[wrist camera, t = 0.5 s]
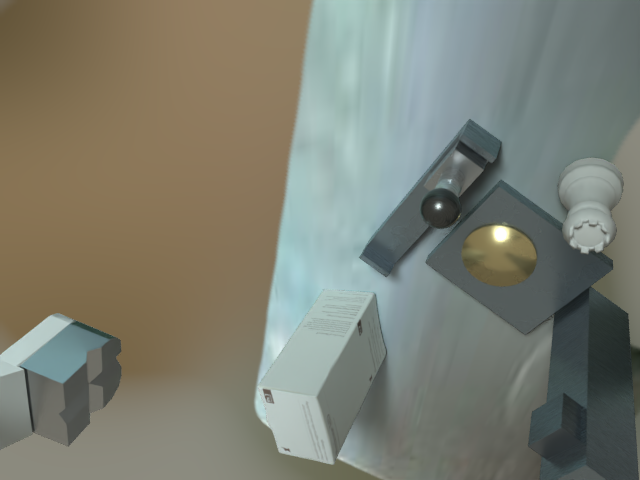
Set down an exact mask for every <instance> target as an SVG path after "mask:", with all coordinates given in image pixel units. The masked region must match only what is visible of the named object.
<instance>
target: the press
mask: <svg viewBox="0 0 640 480" xmlns="http://www.w3.org/2000/svg"><path fill="white" fill-rule="evenodd" d="M459 140H460V141H462V142H463V143H464V144H466V145H467V146H469V147H470V148H471V149H473V150H474V151H475V152H477V153H478V154H480V155H481V156H482V157H484V158H485V159H486V160H487V162H488V161H489V162H491V163H493V161H494V160H495V159H496V158H497V154H498V151H499V148H500V145H501V141H500V140H498V139H497V138H495V137H494V136H493V135H491V134H490V133H489V132H487V131H486V130H484V129H483V128H482V127H480V126H479V125H478V124H476V123H475V122H473V121H472V120H471V119H469V120H468V121H467V123H466V124H465V125H464V126H463V128H462V129H461V130H460V131H459V132H458V134H457V135H456V136H455V137H454V138H453V140H452V141H451V142H450V143H449V144H448V146H447V147H446V148H445V149H444V150H443V152H442V153H441V154H440V155H439V156H438V158H437V159H436V160H435V161H434V162H433V164H432V165H431V166H430V167H429V169H428V170H427V171H426V172H425V173H424V175H423V176H422V177H421V178H420V179H419V181H418V182H417V183H416V184H415V185H414V187H413V188H412V189H411V190H410V191H409V193H408V194H407V195H406V196H405V197H404V199H403V200H402V201H401V202H400V203H399V205H398V206H397V207H396V208H395V210H394V211H393V212H392V213H391V214H390V216H389V217H388V218H387V219H386V220H385V222H384V223H383V224H382V225H381V226H380V228H379V229H378V230H377V231H376V232H375V234H374V235H373V236H372V237H371V238H370V240H369V241H368V243H367V245H366V247H365V248H364V250H363V252H362V254H361V255H360V257H359V258H360V259H362V260H363V261H364V262H366V263H367V264H368V265H370V266H371V267H373V268H374V269H375V270H377V271H378V272H380V273H381V274H382V275H384V276H385V277H387V276H388V275H389V274H390V272H391V270H392V268H393V266H394V264H395V263H396V262H397V261H398V260H399V259H400V258H401V257H402V255H403V254H404V253H405V252H406V251H407V250H408V249H409V248H410V247H411V246H412V244H413V243H414V242H415V241H416V240H417V239H418V238H419V237H420V236H421V235H422V234H423V232H424V231H425V230H426V229H427V228H428V227H429V225H427V224H426V223H425V222H424V221H423V219H422V217H421V215H420V203H421V200H422V198H423V197H424V195H425V194H426V193H428V192H429V190H428V189H427V188H425V187H424V185H425V183H426V181H427V178H428V176H429V175H430V174H431V173H432V171H433V170H434V169H435V168H436V167H437V166H438V164H439V163H440V162H441V161H442V160H443V158H444V157H445V156H446V155H447V154H448V152H449V151H450V150H451V149H452V148H453V146H454V145H455V144H456V143H457V142H458V141H459ZM486 164H487V163H486ZM562 228H563V224H562V223H560V222H559V221H557V220H556V219H555V218H553V217H552V216H551V215H549V214H548V213H546V212H545V211H544V210H542V209H541V208H540V207H538V206H537V205H535V204H534V203H533V202H531V201H530V200H529V199H527V198H526V197H524V196H523V195H522V194H520V193H519V192H518V191H516V190H515V189H513V188H512V187H511V186H509V185H508V184H506V183H505V182H504V181H502V180H500V181H499V182H498V183H497V184H496V185H495V186H494V187H493V189H492V190H491V191H490V192H489V193H488V194H487V195H486V196H485V197H484V198H483V199H482V200H481V201H480V202H479V203H478V204H477V205H476V206H475V207H474V208H473V209H472V210H471V211H470V212H469V213H468V215H467V216H466V217H465V218H464V219H463V220H462V221H461V222H460V223H459V224H458V225H457V226H456V227H455V228H454V229H453V230H452V231H451V232H450V233H449V234H448V235H447V236H446V237H445V238H444V239H443V241H442V242H441V243H440V244H439V245H438V246H437V247H436V248H435V249H434V250H433V251H432V252H431V253H430V254H429V255H428V257H427V260H426V262H425V263H427V264H428V265H429V266H431V267H432V268H433V269H435V270H436V271H438V272H439V273H440V274H442V275H443V276H445V277H446V278H447V279H449V280H450V281H451V282H453V283H454V284H456V285H457V286H458V287H460V288H461V289H463V290H464V291H465V292H467V293H468V294H470V295H471V296H472V297H474V298H475V299H476V300H478V301H479V302H481V303H482V304H483V305H485V306H486V307H488V308H489V309H490V310H492V311H493V312H494V313H496V314H497V315H499V316H500V317H501V318H503V319H504V320H506V321H507V322H508V323H510V324H511V325H513V326H514V327H515V328H517V329H518V330H519V331H521V332H522V333H524V334H525V335H526V334H527V333H528V332H530V331H531V330H532V329H534V328H535V327H537V326H538V325H539V324H541V323H542V322H543V321H545V320H546V319H547V318H549V317H550V316H551V315H553V314H554V313H555V315H554V326H553V337H552V348H551V360H550V371H549V382H548V393H547V403H546V404H544V405H542V406H541V407H539V408H537V409H536V410H534V411H533V412H532V417H531V426H530V434H529V443H528V447H530V448H531V449H532V450H534V451H535V452H537V453H538V454H539V455H541V456H542V459H541V470H540V480H639V477H638V461H637V444H636V430H635V429H636V428H635V413H634V397H633V381H632V366H631V350H630V336H629V335H630V334H629V319H628V313H626V312H625V311H624V310H622V309H621V308H620V307H618V306H617V305H615V304H614V303H612V302H611V301H610V300H608V299H607V298H606V297H604V296H603V295H602V294H600V293H599V292H597V291H596V290H595V289H593V288H592V287H591V285H593V284H594V283H595V282H597V281H598V280H599V279H601V278H602V277H603V276H605V275H606V274H607V273H609V272H610V271H611V270H613V260H611V259H610V258H608V257H607V256H606V255H604V254H603V253H602V252H599V253H597V254H596V252H595V251H589V252H588V255H587V254H581V253H580V250H578V249H576V248H575V249H574V250H573V248H572V247H571V246H570V245H569V244H568V243H567V241H566V240H565V239H564V237H563V233H562Z"/></svg>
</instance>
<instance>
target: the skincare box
mask: <svg viewBox="0 0 640 480" xmlns="http://www.w3.org/2000/svg"><path fill="white" fill-rule="evenodd" d="M385 355H386V349H385V346H384V342H383V338H382V333H381V329H380V323H379V318H378V312H377V305H376V296H375V294H374V293H371V292H358V291H345V290H331V289H324V290H323V291H322V293H321V294H320V296H319V297H318V299H317V300H316V301H315V303H314V304H313V306H312V307H311V309H310V310H309V312H308V313H307V315H306V316H305V318H304V319H303V321H302V322H301V323H300V325H299V326H298V328H297V329H296V331H295V332H294V334H293V335H292V337H291V338H290V339H289V341H288V342H287V344H286V345H285V347H284V348H283V350H282V351H281V353H280V354H279V356H278V357H277V359H276V360H275V362H274V363H273V364H272V366H271V367H270V369H269V370H268V372H267V373H266V375H265V376H264V378H263V379H262V380H261V382H260V383H259V385H258V389H259V392H260V395H261V398H262V400H263V403H264V407H265V410H266V419H267V423H268V425H269V427H270V428H271V430H272V431H273V434H274V437H275V440H276V443H277V447H278V450H279V452H280V453H283V454H288V455H292V456H297V457H301V458H307V459H311V460H316V461H319V462H324V463H328V464H335V460H336V458H337V456H338V454H339V452H340V450H341V448H342V446H343V443H344V441H345V439H346V437H347V435H348V433H349V431H350V429H351V427H352V425H353V422H354V420H355V418H356V416H357V414H358V412H359V410H360V408H361V406H362V404H363V402H364V400H365V397H366V395H367V393H368V391H369V389H370V387H371V385H372V383H373V380H374V378H375V376H376V374H377V372H378V370H379V368H380V366H381V364H382V362H383V360H384V357H385Z"/></svg>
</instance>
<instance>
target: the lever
mask: <svg viewBox="0 0 640 480" xmlns="http://www.w3.org/2000/svg"><path fill="white" fill-rule="evenodd" d="M486 163H487V160H486V159H485V158H484V157H482V156H481V155H480V154H478V153H477V152H475V151H474V150H473V149H471V148H470V147H469V146H467V145H466V144H464V143H463V142H462V141H460V140H459V141H458V142H457V143H456V144H455V145H454V146H453V148H452V149H451V150H450V151H449V152H448V154H447V155H446V156H445V157H444V158H443V160H442V161H441V162H440V163H439V164H438V166H437V167H436V168H435V169H434V170H433V171H432V173H431V174H430V175H429V176H428V178H427V181H426V183H425V185H424V187H425V188H427V189H428V190H429V192H428V193H426V194H425V195H424V197H423V198H422V200H421V203H420V215H421V217H422V219H423V221H424V222H425V223H426V224H427V225H429V226H431V227H433V228H437V229H444V228H447V227H450V226H451V225H453V224H454V223H455V222H456V221H457V220H458V218H459V216H460V213H461V203H460V200H459V197H460V196H461V194H462V193H463V192H464V191H465V190H466V189H467V188H468V187H469V186H470V185H471V184H472V183H473V181H474V180H475V179H476V178H477V177H478V176H479V175H480V174H481V173H482V172H483V171H484V168H485V166H486Z"/></svg>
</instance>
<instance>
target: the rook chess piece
mask: <svg viewBox="0 0 640 480" xmlns="http://www.w3.org/2000/svg"><path fill="white" fill-rule="evenodd" d="M623 185H624V183H623V178H622V174H621V172H620V171H619V170H618V169H617V167H616V166H615V165H614V164H612V163H610V162H608V161H606V160H604V159H599V158H591V157H590V158H585V159H580V160H577V161H575V162H573V163H572V164H570V165H568V166H567V167H566V168H565V169H564V171H563V172H562V173H561V175H560V177H559V181H558V193H559V197H560V201H561V203H562V204H563V205H564V206H565V208H566V209H567V210H568V211H569V212H568V215H567V219H566V220H565V221H564V223H563V228H562V233H563V237H564V239H565V240H566V241H567V243H568V244H569V245H570V246H571V247H572V248H573V250H574V249H575V248H576V249H578V250H580V253H581V254H587V255H588V252H589V251H595V252H596V254H597V253H599V252H601V251H603V250H604V248H605V247H607V246H608V245H609V244H610V243H611V242H612V241H613V240H614V238H615V236H616V232H617V229H616V224H615V222H614V221H613V219H612V214H611V212H610V211H611V210H612V209H613V208H614V207H615V206H616V205H617V203H619V201H620V199H621V195H622V192H623Z"/></svg>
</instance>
